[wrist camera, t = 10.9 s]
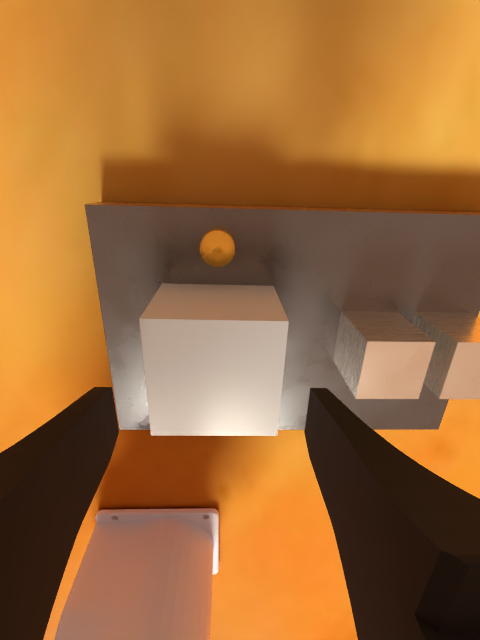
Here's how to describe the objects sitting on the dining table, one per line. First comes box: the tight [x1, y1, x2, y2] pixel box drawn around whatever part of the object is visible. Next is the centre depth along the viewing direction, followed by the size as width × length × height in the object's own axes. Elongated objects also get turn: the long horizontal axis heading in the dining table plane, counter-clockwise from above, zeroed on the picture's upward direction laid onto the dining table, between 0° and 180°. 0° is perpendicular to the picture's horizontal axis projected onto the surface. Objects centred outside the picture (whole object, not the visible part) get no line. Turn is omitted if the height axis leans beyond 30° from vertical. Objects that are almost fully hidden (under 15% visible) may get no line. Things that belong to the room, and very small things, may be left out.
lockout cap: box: [139, 283, 289, 436], centre depth 15 cm, size 6×6×4 cm
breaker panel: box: [85, 202, 480, 430], centre depth 17 cm, size 20×13×6 cm, turn 88°
